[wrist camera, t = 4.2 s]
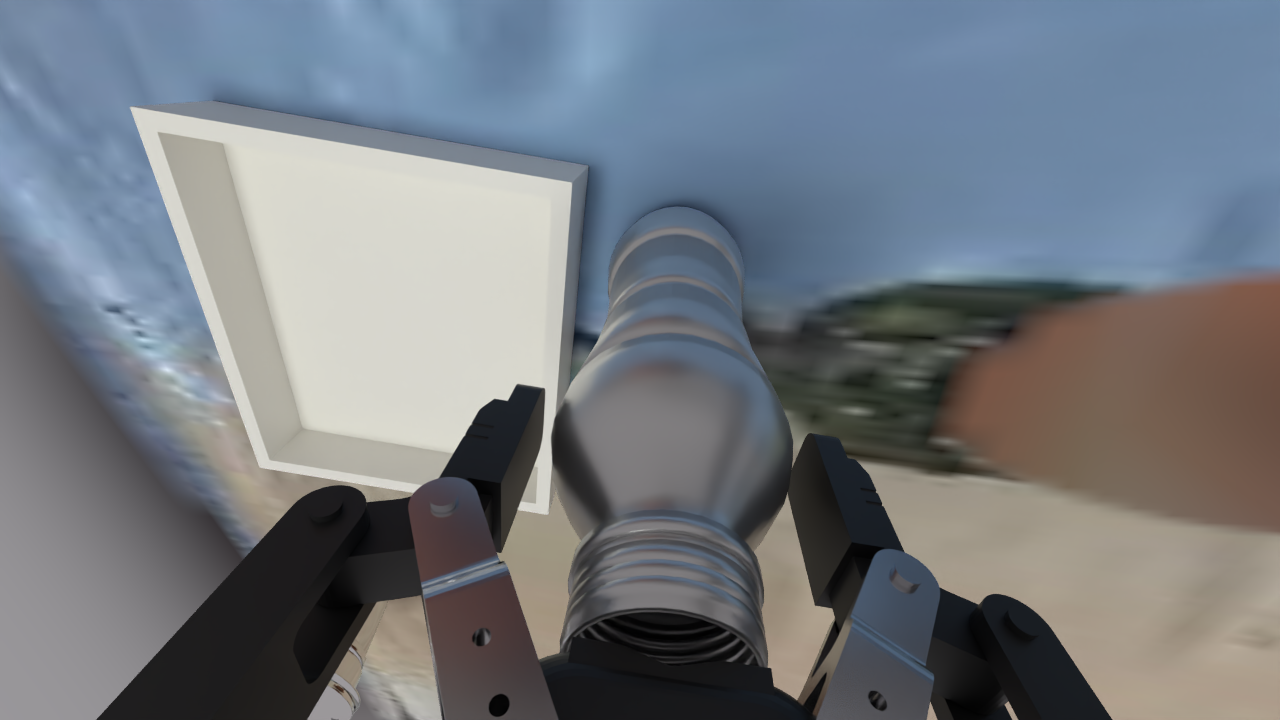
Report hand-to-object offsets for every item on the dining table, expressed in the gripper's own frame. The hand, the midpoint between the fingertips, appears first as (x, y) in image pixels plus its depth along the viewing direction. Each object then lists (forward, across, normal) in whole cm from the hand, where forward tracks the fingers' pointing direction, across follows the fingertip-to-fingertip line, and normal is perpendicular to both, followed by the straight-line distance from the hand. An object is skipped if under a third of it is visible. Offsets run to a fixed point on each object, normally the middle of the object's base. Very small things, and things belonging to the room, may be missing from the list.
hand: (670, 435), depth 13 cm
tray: (+14, +14, +6) cm, 21 cm away
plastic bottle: (+14, 0, 0) cm, 14 cm away
